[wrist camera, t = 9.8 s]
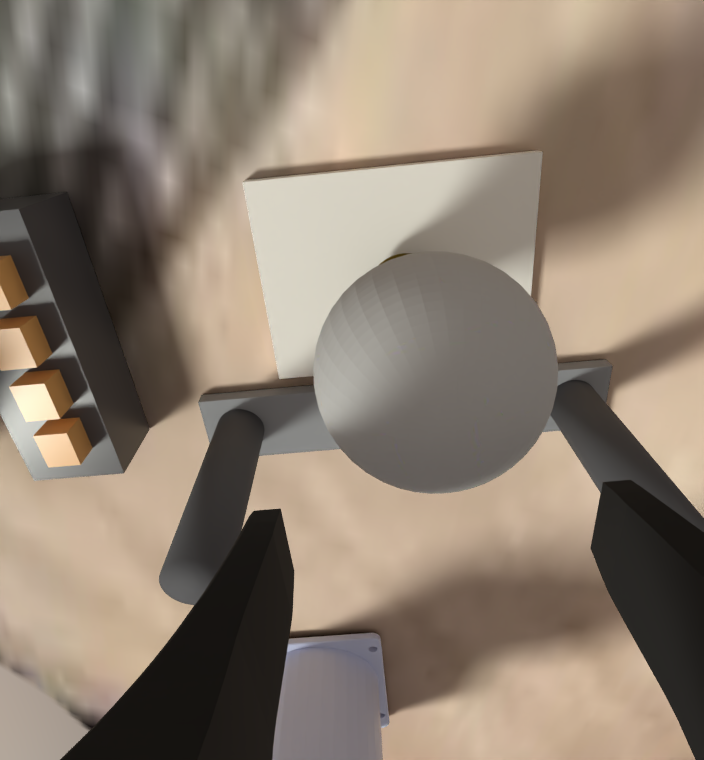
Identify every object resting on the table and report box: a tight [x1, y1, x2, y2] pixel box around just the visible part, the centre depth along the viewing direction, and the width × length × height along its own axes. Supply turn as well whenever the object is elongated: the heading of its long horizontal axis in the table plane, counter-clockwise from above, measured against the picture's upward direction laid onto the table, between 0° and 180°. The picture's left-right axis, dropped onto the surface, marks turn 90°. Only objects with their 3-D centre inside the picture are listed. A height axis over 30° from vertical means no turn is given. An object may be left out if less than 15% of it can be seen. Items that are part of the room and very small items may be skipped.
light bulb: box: [313, 251, 558, 494], centre depth 15 cm, size 6×6×10 cm
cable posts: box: [159, 359, 704, 605], centre depth 18 cm, size 3×17×8 cm, turn 95°
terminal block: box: [0, 192, 149, 481], centre depth 18 cm, size 10×4×4 cm, turn 5°
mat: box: [242, 150, 543, 379], centre depth 19 cm, size 8×10×1 cm
